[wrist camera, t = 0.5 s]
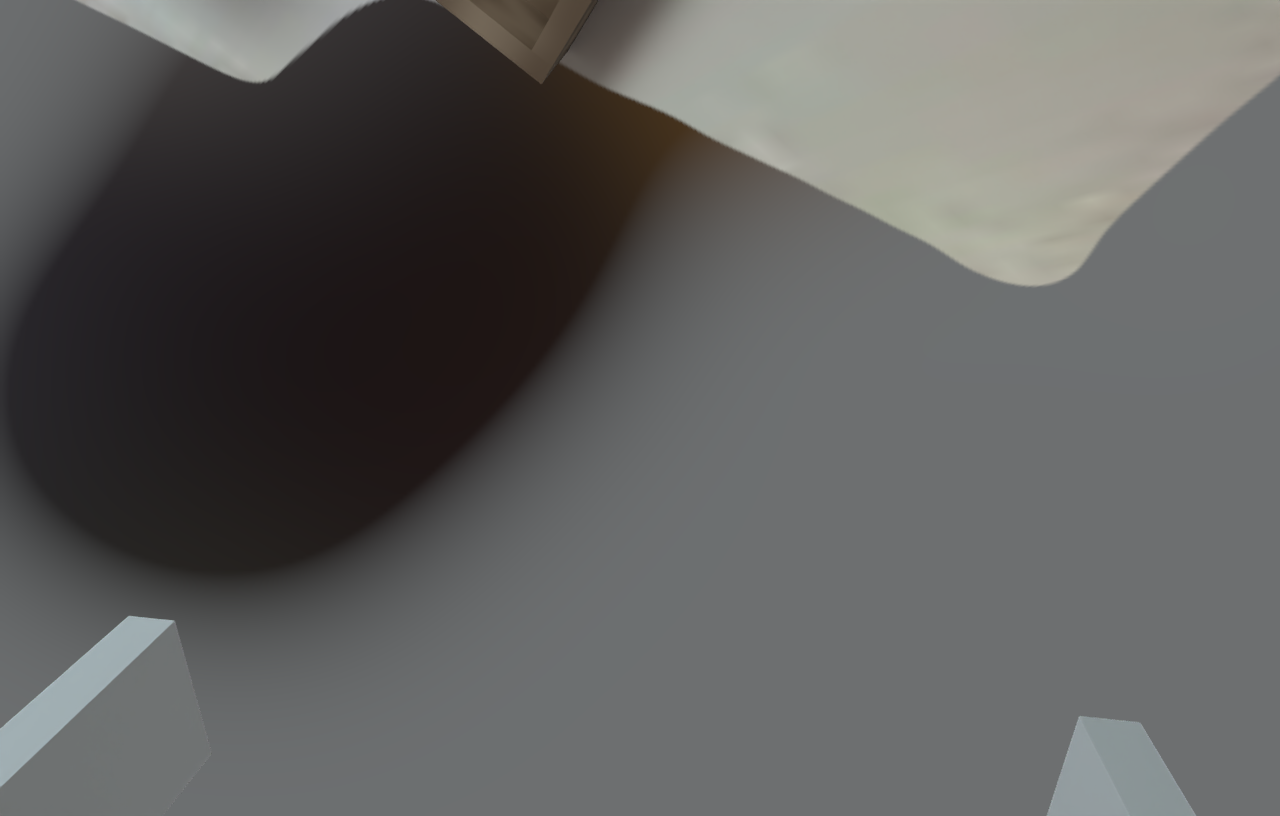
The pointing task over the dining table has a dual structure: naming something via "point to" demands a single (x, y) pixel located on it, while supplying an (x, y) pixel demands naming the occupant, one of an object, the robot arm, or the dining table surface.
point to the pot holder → (525, 28)
